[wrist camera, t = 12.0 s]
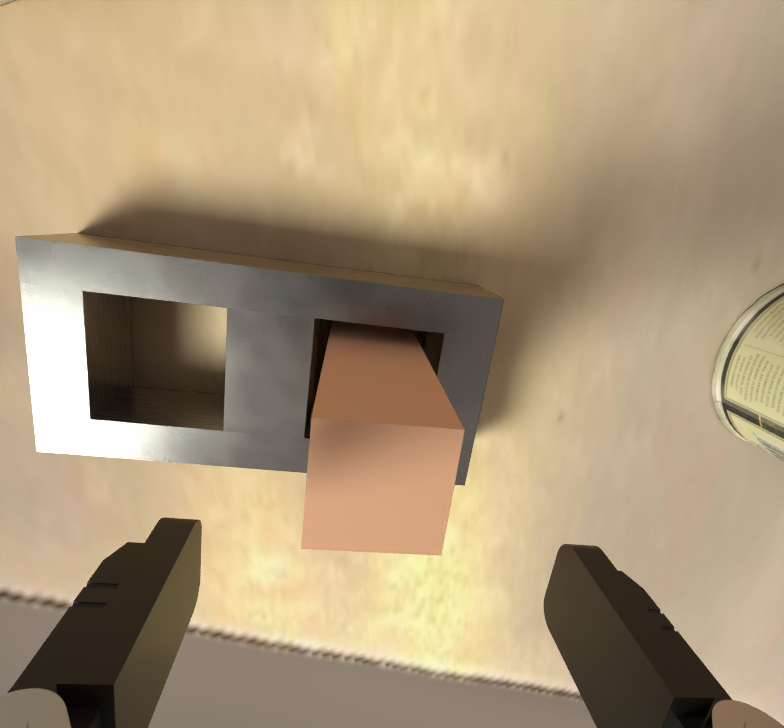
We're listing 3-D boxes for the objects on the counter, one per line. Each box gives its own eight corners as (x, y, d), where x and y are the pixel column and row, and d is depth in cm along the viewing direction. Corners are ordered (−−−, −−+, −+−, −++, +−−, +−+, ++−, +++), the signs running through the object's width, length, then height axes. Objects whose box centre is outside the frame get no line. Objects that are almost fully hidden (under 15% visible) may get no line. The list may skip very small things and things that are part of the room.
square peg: (326, 392, 24) (301, 548, 13) (332, 319, 23) (311, 418, 12) (401, 399, 25) (441, 555, 13) (410, 327, 23) (464, 429, 12)
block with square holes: (88, 413, 23) (36, 451, 20) (77, 233, 21) (15, 236, 17) (448, 445, 26) (464, 485, 22) (479, 286, 23) (503, 299, 19)
